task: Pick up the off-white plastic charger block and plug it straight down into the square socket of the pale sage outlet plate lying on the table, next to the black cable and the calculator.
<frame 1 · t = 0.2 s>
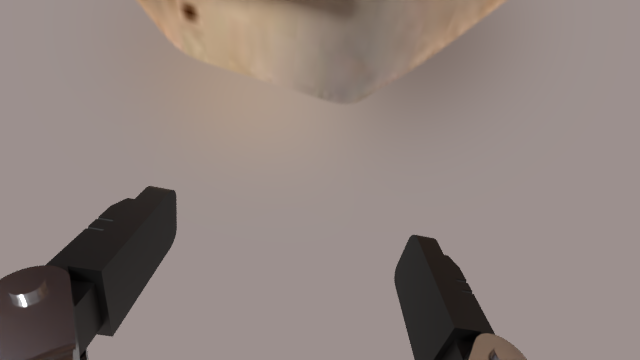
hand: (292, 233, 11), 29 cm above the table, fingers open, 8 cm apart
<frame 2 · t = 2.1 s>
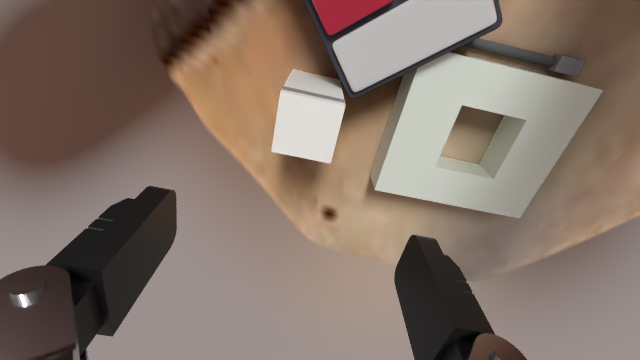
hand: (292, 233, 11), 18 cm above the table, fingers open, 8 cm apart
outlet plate: (464, 131, 28), on the table
charger: (311, 98, 26), on the table
cable: (490, 46, 24), on the table
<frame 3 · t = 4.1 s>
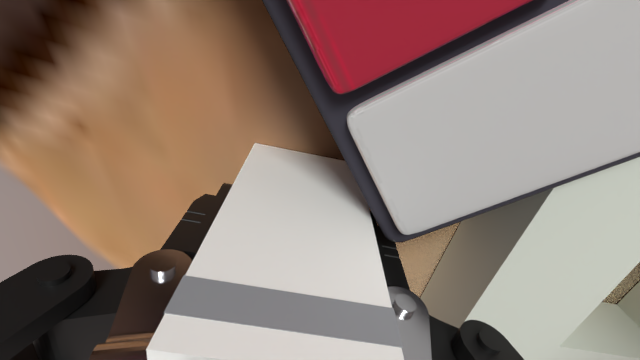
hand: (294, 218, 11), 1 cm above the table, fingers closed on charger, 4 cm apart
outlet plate: (603, 255, 14), on the table
charger: (298, 197, 13), on the table, touching gripper
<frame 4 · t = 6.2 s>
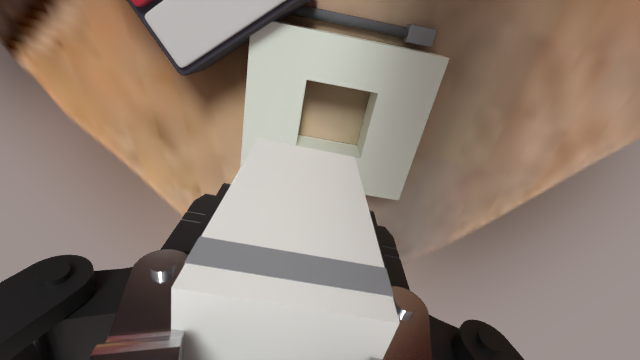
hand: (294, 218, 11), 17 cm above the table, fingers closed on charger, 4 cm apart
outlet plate: (333, 111, 27), on the table
charger: (298, 190, 13), point 15 cm above the table, touching gripper
cable: (339, 18, 23), on the table
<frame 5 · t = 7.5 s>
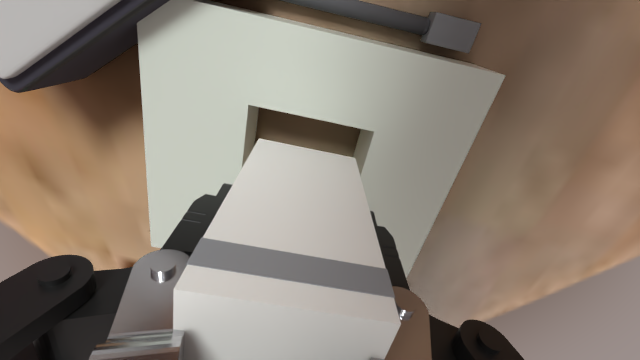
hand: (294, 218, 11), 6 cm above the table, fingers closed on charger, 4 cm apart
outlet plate: (304, 148, 17), on the table
charger: (298, 190, 13), point 4 cm above the table, touching gripper
when the fingers open (3 cm above the table, at t = 8.4 s): charger drops 1 cm, resting in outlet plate.
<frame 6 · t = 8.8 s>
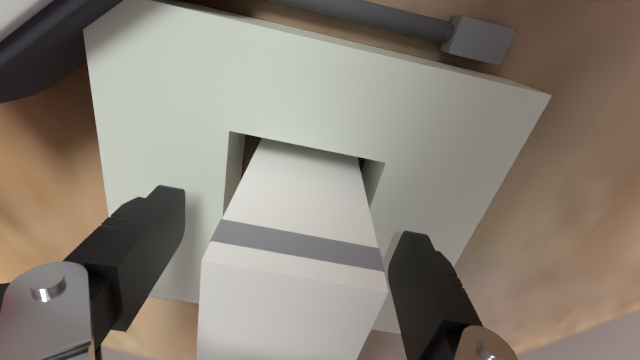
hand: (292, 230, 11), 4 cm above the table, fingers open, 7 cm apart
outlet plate: (300, 175, 14), on the table
charger: (302, 178, 14), resting in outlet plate
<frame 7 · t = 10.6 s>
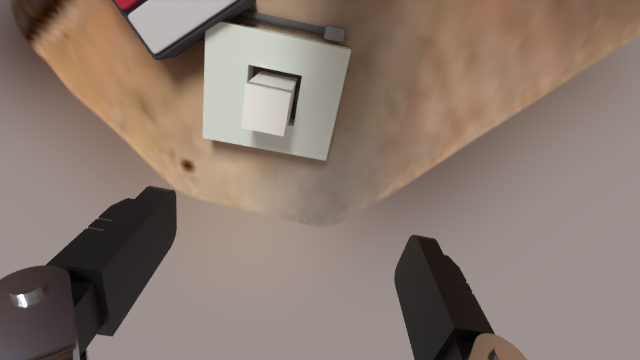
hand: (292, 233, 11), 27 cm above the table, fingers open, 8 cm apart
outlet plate: (275, 91, 35), on the table
charger: (276, 92, 35), resting in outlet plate
cable: (275, 20, 31), on the table
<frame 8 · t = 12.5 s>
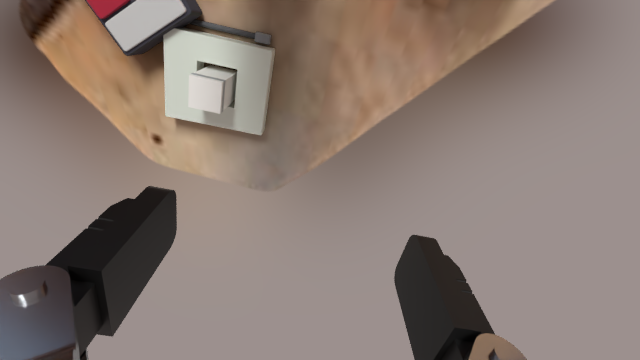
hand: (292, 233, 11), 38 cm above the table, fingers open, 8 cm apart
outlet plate: (222, 80, 45), on the table
charger: (223, 82, 45), resting in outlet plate
cable: (218, 27, 42), on the table
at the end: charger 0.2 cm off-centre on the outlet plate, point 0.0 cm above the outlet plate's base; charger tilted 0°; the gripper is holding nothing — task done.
